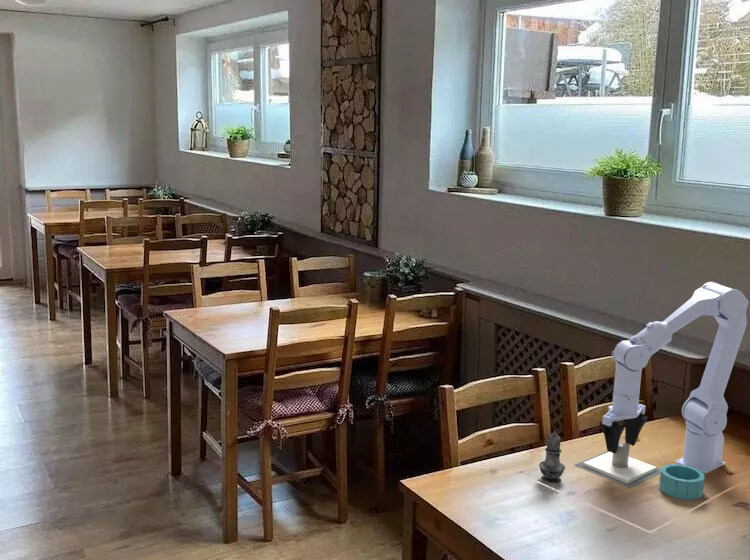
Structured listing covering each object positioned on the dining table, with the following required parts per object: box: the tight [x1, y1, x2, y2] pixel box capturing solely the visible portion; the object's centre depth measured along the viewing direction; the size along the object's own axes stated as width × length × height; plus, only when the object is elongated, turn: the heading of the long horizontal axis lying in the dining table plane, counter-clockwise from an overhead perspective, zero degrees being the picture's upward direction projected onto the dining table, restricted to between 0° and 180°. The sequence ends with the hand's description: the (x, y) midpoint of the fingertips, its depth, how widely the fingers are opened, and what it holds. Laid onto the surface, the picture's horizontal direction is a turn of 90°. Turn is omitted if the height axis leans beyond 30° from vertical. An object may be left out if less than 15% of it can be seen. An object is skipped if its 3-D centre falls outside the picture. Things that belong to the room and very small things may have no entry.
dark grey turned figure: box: [538, 430, 566, 486], centre depth 180 cm, size 6×6×12 cm
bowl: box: [658, 463, 706, 501], centre depth 177 cm, size 9×9×4 cm
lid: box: [582, 441, 658, 484], centre depth 187 cm, size 12×12×6 cm
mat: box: [573, 450, 661, 489], centre depth 188 cm, size 15×15×1 cm
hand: (621, 447), depth 187 cm, fingers open, 7 cm apart
